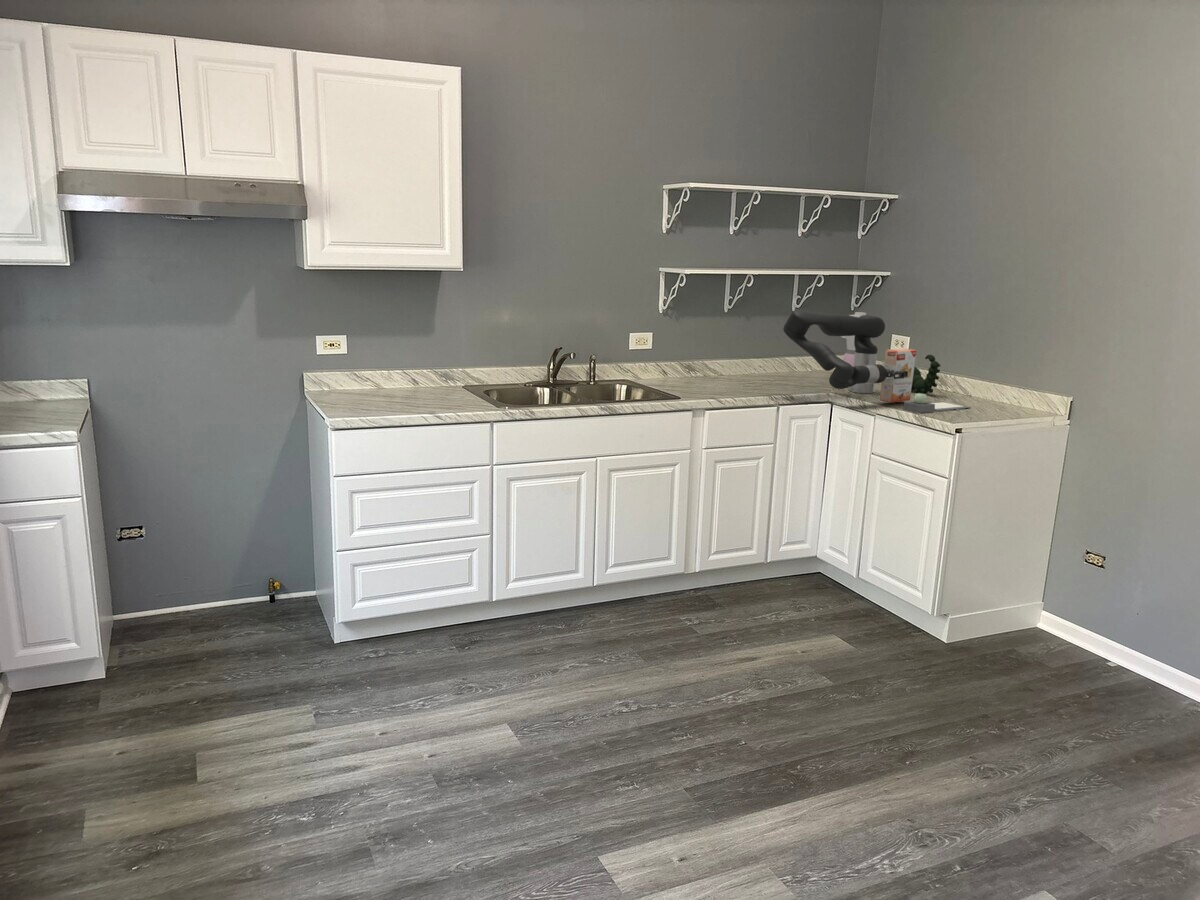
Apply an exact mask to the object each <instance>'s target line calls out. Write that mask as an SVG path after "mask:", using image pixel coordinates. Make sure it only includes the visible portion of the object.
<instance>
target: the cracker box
mask: <svg viewBox="0 0 1200 900" xmlns="http://www.w3.org/2000/svg"><path fill="white" fill-rule="evenodd" d="M884 355H885V356H884V361H883V363H884V364H883V366H884V367H885V369H890V370H894V371H892V372H893V374H894V373H895V372H896V371H908V376H907V377H904V378H901V379H894V377H893V376H892V377H893V379H892V378H889V379H885V380H884V381H883V382H881V388H880V394H879V395H880V396H879V401H880V402H885V403H897V402H898V403H900V402H909V401H911V394H912V391H911V388H912V380H913V373H914V367H916V366H915V364H916V358H917V357H916V356H917V349H911V348H897V349H896V348H895V349H886V350H885V353H884Z"/></svg>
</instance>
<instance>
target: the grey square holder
mask: <svg viewBox="0 0 1200 900" xmlns="http://www.w3.org/2000/svg"><path fill="white" fill-rule="evenodd" d="M903 402H904V405H903V410H904V411H907V410H908V411H907V412H912V411H913V413H917V412H918V414H925V413H935V411H934V409H935V404H931V403H930V402H926V403H925V404H923V405H920V404H915V403H914V400H912V401H903Z"/></svg>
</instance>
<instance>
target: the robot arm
mask: <svg viewBox="0 0 1200 900" xmlns="http://www.w3.org/2000/svg"><path fill="white" fill-rule="evenodd" d="M849 315H850V314H848V315H847V314H842V313H820V312H815V311H809V310H803V309H796V310H793V311H792V312H791V313H790V315H789V316H788V318H787V320H786V322H785V323H784V324H783V325H784V326H783V328H782V329H783V332H784V334H785V335H786V336H787V337H788V338H789V339H790V340H791V341H793V342H794V343H795V344H796V345H797V346H798V347H800V348H801V349H802V350H804V351H805V352H807V354H808V355H810V356H811V357H812V358H813V360H815V361H816V362H817V364H818V365H819V366H820V367H821V368H822V369H823V370H824V371H826V372H830V371H832V370H833V371H832V372H831V374H830V375H829V378H828V382H829V385H830V386H831V387H833V388H834V389H838V390H843V389H844V390H845V389H847V388H849V391H850V392H853V393H857V394H873V393H874V387H875V385H874V384H882V382H883V381H884V380H885V379H889V378H892V379H893V377H894V379H901V378H904V377H907V376H908V371H896V372H895V373H894V374H893V372H892V371H894V370H890V369H885V367H884V364H883V365H882V364H880V363H879V364H878V363H877V358H878V346H876V345H875V344H874V343H873V342H872V340H871V338H872V339H875V338H879V337H880V336H882V335H883V333H884V332H885V330H886V324H885V321H884V320H883V318H881V317H879V316H875V315H874V316H873V315H867V314H866V315H863V316H860V317H854V316H849ZM813 325H816V326H818V328H819V329H820V331H821V332H822V333H824V335H826V336H828V337H840V336H854V335H855V338H854V346H855V358H854V366H853V367H852V365H850V364H849V363H847V362H845V361H843V358H840V357H839V356H837V355H836V354H835V352H833V350H832V349H831V348H830V347H828V346H827V345H826V344H824V343H821V342H816V341H815V342H814V341H812V340H811V341H810V340H808V339H807V338H806V336H805V335H806V334H807V332H808V330H809V329H810V327H811V326H813ZM892 376H893V377H892Z"/></svg>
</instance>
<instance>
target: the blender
mask: <svg viewBox="0 0 1200 900" xmlns="http://www.w3.org/2000/svg"><path fill="white" fill-rule="evenodd" d="M848 315H849V316H854V317H860V316H863V315H867V312H861V311H860V312H857V311H855V313H854V314H848ZM839 337H840V338H841V339H843V340H846V351H845V353H844V355H843V357H842V360H843V361H845V362H847V363H849V364H850V365H852V367H853V366H854V358H855V346H854V338H855V335H854V336H839Z"/></svg>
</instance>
